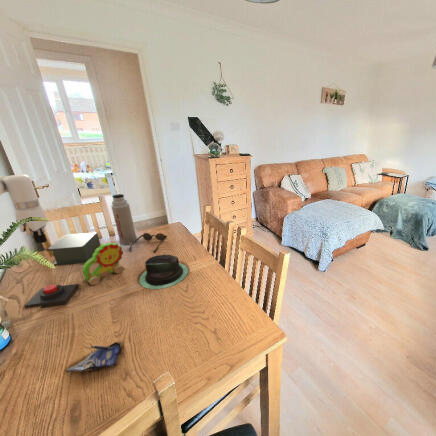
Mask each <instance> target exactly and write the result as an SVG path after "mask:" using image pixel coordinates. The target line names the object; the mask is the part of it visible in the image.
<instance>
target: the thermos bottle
mask: <svg viewBox="0 0 436 436" xmlns="http://www.w3.org/2000/svg"><path fill="white" fill-rule="evenodd" d="M112 198H113V199H112V201H111V210H112V215H113V218H114V222H115V226H116V231H117V236H118V239H119V243H120V245H123V246H127V245H131V244H132V243H133V242H134V241H135V240H137V239H138V238H137V234H136V231H135V225H134V221H133V216H132V212H131V206H130V204H129V202H128V200H127V199H125V194H123V193H119V194H113V195H112ZM137 241H138V240H137Z"/></svg>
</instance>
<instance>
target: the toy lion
mask: <svg viewBox="0 0 436 436" xmlns="http://www.w3.org/2000/svg"><path fill="white" fill-rule="evenodd" d="M123 255H124V250H123V248H122V246H120V245H119V244H117V243H115V242H114V243H113V242H112V243H111V242H107V243H102V244H101V245H100V246H99V248H97V249H96V250H95V252H94V253H93V255H92V258H90V259H89V260H88V261H87V262H86V263H83V266H82V274H83V282H84V283H85V282H86V283H89V285H91V286H96V285H98V284H100V281H101V278H102V277H104V276H105V275H108V274H111V273H115V274H121V273H122V272H123V271H124V267H123V266H122V265H120V263H119V261H121V260H122V259H123ZM95 264H97V265H98V266H97V268H95V270H93V272H91V273H90V268H91V267H92V265H95Z"/></svg>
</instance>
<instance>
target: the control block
mask: <svg viewBox="0 0 436 436" xmlns="http://www.w3.org/2000/svg"><path fill="white" fill-rule="evenodd" d="M55 285H56V286H57V288H58V290H57V291H55V292H53V293H50V294H45V292H44V290H43V289H44V288H45V287H41V288H40V289H39V290H38V291H37V292H36V293H35V294H34V295H32V297H31V298H30V299H29V300H28V301H26V303H24V305H23V306H24V309H29V308H37V307H40V309H43V308H51V307H58V306H65V305H66V306H67V305H68V303H69V302H70V301H71V299H72V298H73V297H74V295H75V294H76V293H77V292H78V290H79V289H80V287H79V284H78V283H73V284H65V285H61V284H55Z"/></svg>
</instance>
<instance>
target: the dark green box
mask: <svg viewBox="0 0 436 436" xmlns="http://www.w3.org/2000/svg"><path fill="white" fill-rule="evenodd" d="M100 245H102V244H101V242H100V237H99V233H98V232H95V231H94V232H79V233H66V234H63V236H61V237H60V238H59V239H57V240H56V241H55V242H54V243H52V244H51V245H50V247H49V248H45V250H46V252H48V251H52V252H53V254H54V256H53V257H54V260H55V261H54V262H53V263H52V264H54V265H55V266H54V267H56V266H67V265H78V264H85V263H86V262H87V261H88V260H89V259H90V258H92V255H93V253H94V252H95V250H96V249H97V248H99V246H100Z"/></svg>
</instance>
